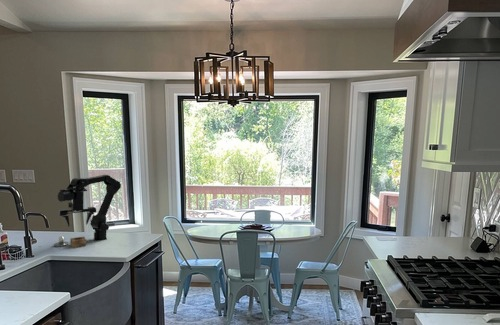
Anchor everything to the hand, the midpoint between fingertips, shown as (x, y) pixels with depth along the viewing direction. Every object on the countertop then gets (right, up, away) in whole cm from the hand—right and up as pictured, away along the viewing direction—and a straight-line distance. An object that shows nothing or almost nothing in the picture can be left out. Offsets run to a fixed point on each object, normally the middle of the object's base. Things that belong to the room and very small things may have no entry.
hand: (77, 225), depth 174 cm
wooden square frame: (0, -12, 0) cm, 12 cm away
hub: (-10, -12, -1) cm, 15 cm away
